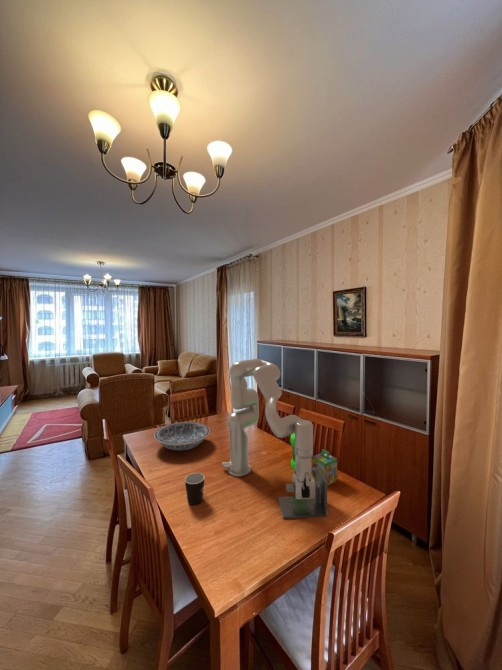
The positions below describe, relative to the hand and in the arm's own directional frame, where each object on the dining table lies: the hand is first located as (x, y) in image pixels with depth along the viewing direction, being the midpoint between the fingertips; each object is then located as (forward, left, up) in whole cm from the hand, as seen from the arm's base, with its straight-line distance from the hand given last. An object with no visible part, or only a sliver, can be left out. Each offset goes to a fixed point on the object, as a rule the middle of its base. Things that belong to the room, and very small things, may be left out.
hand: (303, 491), depth 113 cm
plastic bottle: (+5, +28, -7) cm, 29 cm away
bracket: (-1, 0, -7) cm, 7 cm away
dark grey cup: (-46, +9, -7) cm, 47 cm away
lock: (0, 0, -1) cm, 1 cm away
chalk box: (+15, +19, -7) cm, 25 cm away
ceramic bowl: (-63, +62, -7) cm, 88 cm away
